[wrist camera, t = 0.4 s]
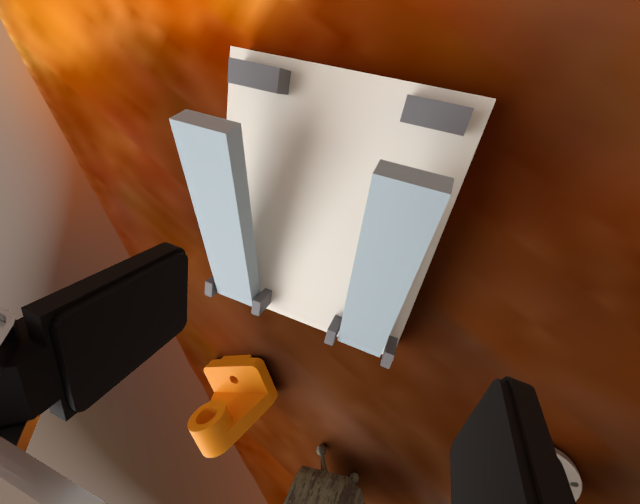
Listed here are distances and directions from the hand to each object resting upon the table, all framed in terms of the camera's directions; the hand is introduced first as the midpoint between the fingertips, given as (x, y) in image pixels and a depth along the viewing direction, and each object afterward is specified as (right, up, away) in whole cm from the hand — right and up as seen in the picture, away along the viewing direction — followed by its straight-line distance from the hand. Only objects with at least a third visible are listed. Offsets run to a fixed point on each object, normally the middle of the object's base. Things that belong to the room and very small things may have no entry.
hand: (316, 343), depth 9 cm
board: (+1, +7, +27) cm, 28 cm away
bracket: (-12, -17, +43) cm, 48 cm away
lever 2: (+6, +1, +20) cm, 21 cm away
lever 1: (-9, +6, +23) cm, 26 cm away
